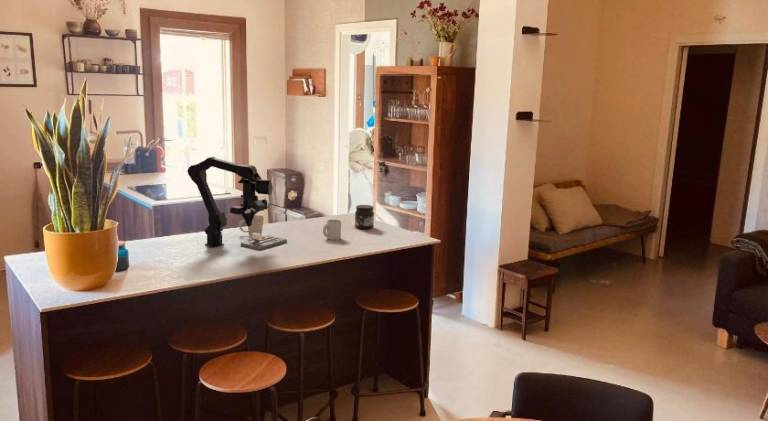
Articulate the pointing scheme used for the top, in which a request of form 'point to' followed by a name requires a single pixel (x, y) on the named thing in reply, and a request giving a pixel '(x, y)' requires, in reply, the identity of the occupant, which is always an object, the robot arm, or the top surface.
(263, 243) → the console board
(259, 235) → the fader tab
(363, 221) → the supplement container
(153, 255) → the top surface
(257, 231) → the mug
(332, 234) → the cup
